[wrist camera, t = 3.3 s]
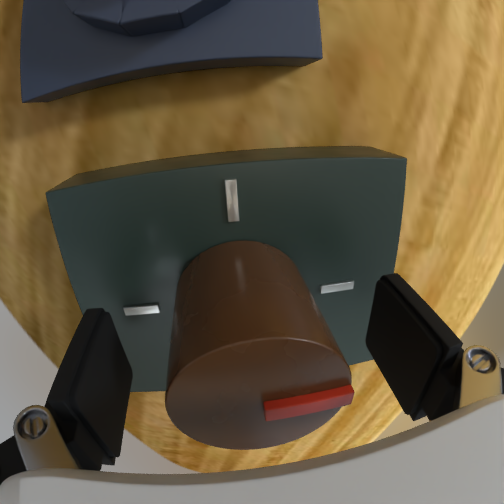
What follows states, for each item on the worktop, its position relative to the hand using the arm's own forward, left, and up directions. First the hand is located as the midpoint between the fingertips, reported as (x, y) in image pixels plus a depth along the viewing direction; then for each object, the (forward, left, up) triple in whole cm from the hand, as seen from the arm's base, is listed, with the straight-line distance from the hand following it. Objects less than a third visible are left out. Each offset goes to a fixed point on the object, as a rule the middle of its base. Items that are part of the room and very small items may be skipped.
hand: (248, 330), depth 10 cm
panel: (0, 0, -5) cm, 5 cm away
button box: (-2, +13, -5) cm, 14 cm away
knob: (0, 0, -2) cm, 2 cm away
